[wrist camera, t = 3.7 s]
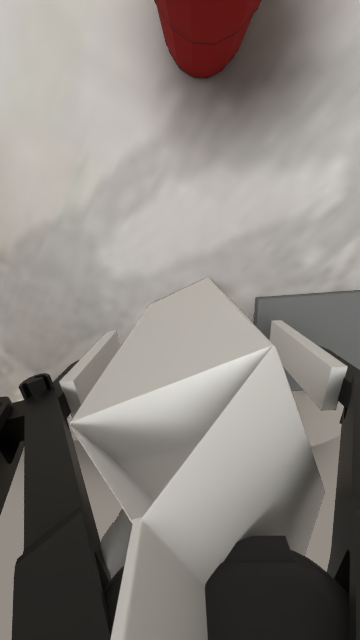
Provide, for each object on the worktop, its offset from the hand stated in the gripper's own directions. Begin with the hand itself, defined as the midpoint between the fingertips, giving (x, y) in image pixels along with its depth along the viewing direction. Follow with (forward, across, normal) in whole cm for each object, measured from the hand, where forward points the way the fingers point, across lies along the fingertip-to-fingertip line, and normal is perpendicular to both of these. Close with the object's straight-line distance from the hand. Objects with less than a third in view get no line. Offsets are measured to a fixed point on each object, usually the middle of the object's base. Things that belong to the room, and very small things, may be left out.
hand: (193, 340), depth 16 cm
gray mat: (+5, +15, -4) cm, 16 cm away
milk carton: (+5, 0, 0) cm, 5 cm away
